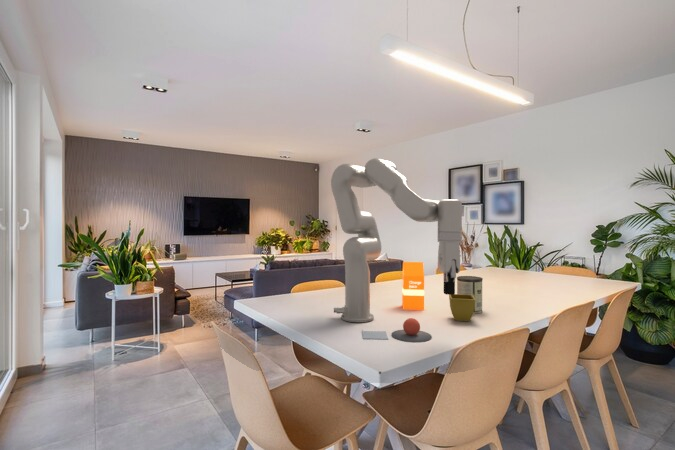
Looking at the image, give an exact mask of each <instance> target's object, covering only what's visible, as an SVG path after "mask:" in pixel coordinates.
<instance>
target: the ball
mask: <svg viewBox="0 0 675 450" xmlns="http://www.w3.org/2000/svg"><path fill="white" fill-rule="evenodd" d="M402 328H403V329H402V330H404V331H405V332H406V333H407V334H408V335H416V334H417V333H418V332H419V331H421V326H420V322H419V321H418V320H417V319H415V318H412V317H411V318H410V317H409V318H407V319H406V320H404V322H403V325H402Z"/></svg>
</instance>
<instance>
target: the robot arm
mask: <svg viewBox="0 0 675 450" xmlns="http://www.w3.org/2000/svg"><path fill="white" fill-rule="evenodd" d="M352 187H353V188H354V187H356V188H370V187H371V188H372V187H378V188H380V190H382V191H383V192H384V193H386V194H387V195H388V196H389V197H390V198H391V201H392V202H393V203H394V206H396V208H397V209H398V210H400V211H401V212H402V213H404V214H405V215H406V216H407V217H409V218H410V219H411V220H413V221H414V222H417V223H419V222H420V223H421V222H422V223H423V222H424V223H434V222H437V243H439V244H438V251H437V270H438V271H439V272H441V273H442V274H443V275H442V276H443V293H444V295H449V294H451V295H454V294H456V279H457V274H459V273H460V271H461V251H460V250H461V249H460V243H462V241H463V240H462V239H463V238H462V237H463V236H462V235H463V234H462V233H463V231H462V230H463V228H462V227H463V221H462V220H463V218H462V217H463V208H462V207H463V204H462V202H461V200H459V199H452V198H451V199H449V198H448V199H446V198H445V199H441V200H435V199H434V200H433V199H428V198H426V199H425V198H422V197H421V196H419V195H418V194H416V193H415V192H414V191H413V190H411V189H410V188H409V187H408V179H407V178H406V176H404V175H403V174H401V173H400V172H399V171H398V168H397V166H396V165H395V163H394V162H392V161H389V160H386V159H383V158H382V159H381V158H377V157H376V158H375V157H374V158H371V159H369V160H368V161H367V162H366V163H365V165H364V166H361V165H357V164H353V163H342V164H340V165H338V166H337V167H335V169H334V171H333V172H332V175H331V179H330V188H331V193H332V195H333V198H334V201H335V206H336V211H337V214H338V219H339V222H340V226H341V230H342V231H343V233H345V234H348V235H357V236H353V237H350V238H348V239H347V240H346V241H345V242H344V244H343V247H342V255H343V259H344V270H345V271H344V273H345V274H344V275H345V276H344V277H345V278H344V279H345V285H344V286H345V289H344V291H345V294H344V295H345V297H344V299H345V300H344V303H345V304H344V305H343V306H342V307H333V313H334V314H335V313H336V314H338V315H339V314H341V315H340V316H341V318H340V319H342V320H343V321H345V322H349V323H367V322H372V321H373V320H374V319H375V315H374V314H372V313H371V310H370V309H371V271H370V266H369V264H368V261H371V260H376V259H377V258H378V257H379V256H380V255H381V252H382V242H381V238H380V235H379V230H378V226H377V222H376V220H375V217H374V215H373V214H372V213H371V212H369V211H367V210H361V209H360V206H359V203H358V198H357V195H356V194H355V193H354V191H353V189H352Z"/></svg>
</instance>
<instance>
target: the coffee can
mask: <svg viewBox="0 0 675 450" xmlns="http://www.w3.org/2000/svg"><path fill="white" fill-rule="evenodd" d="M483 279H484V278H483V277H481V276H474V275H473V276H472V275H460V276H459V275H458V276H456V287H457V288H456V294H463V295H472V296H473V297H474V298H475V307H474V313H473V314H480V313H483Z"/></svg>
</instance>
